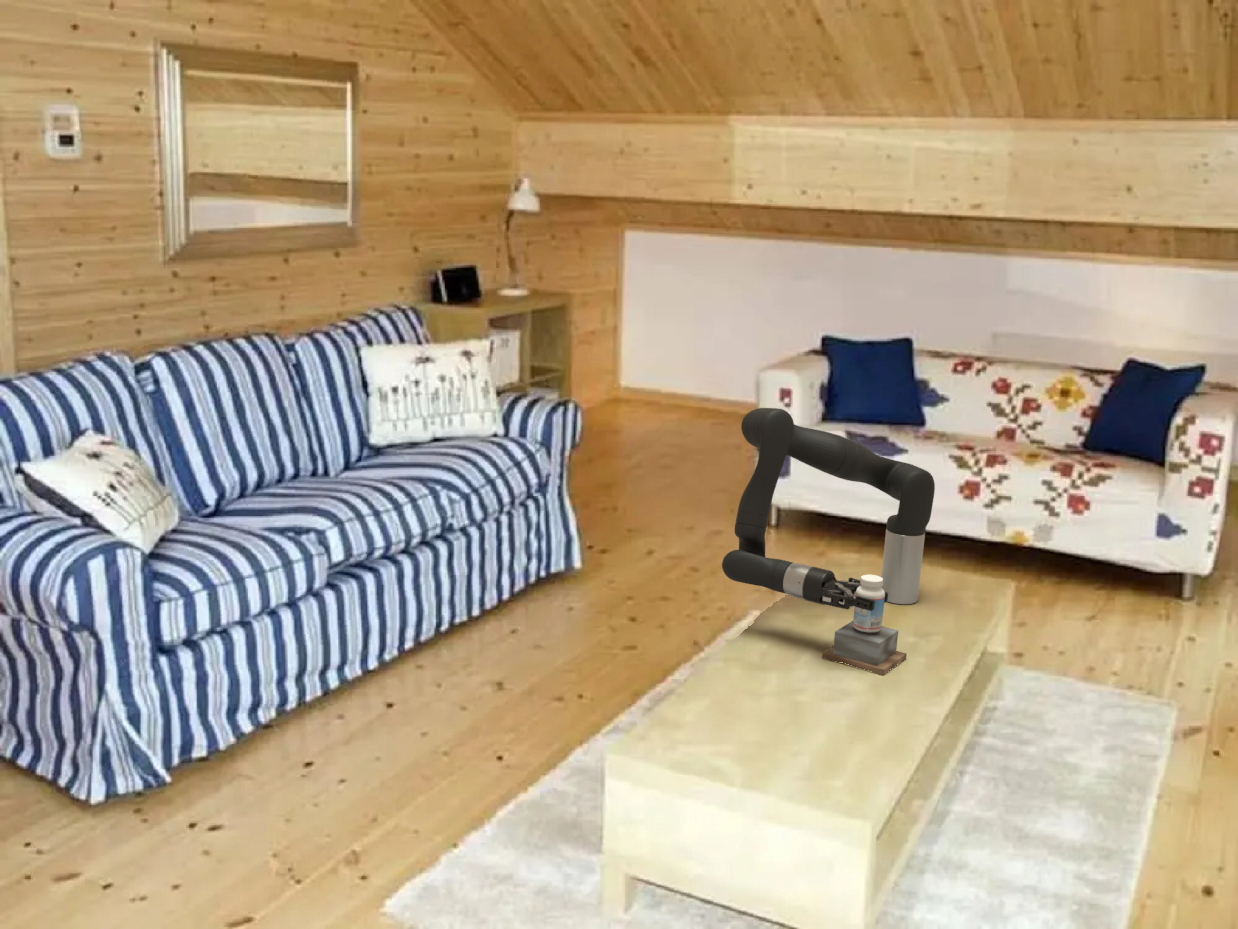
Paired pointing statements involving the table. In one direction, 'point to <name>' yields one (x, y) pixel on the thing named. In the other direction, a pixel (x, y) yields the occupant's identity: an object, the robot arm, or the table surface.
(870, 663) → the tower base
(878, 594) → the pill bottle
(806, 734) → the table surface
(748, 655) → the table surface
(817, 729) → the table surface
